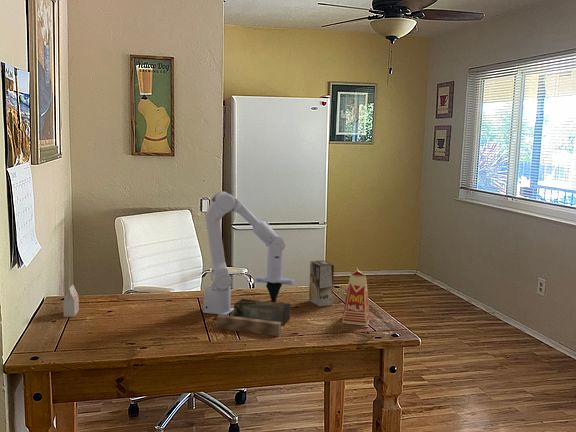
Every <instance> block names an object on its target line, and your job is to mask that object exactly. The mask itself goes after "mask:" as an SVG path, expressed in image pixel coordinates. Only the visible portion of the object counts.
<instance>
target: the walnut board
mask: <svg viewBox="0 0 576 432" xmlns="http://www.w3.org/2000/svg"><path fill="white" fill-rule="evenodd" d="M216 329H219V330H220V329H221V330H227V331H236V332H243V333H251V334H258V335H268V336H273V337H274V336H276V337H279V336H280V335H282V325H281V322H276V321H268V320H260V319H252V318H244V317H235V316H234V315H228V314H227V315H220V314H217V316H216Z"/></svg>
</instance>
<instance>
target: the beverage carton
mask: <svg viewBox="0 0 576 432" xmlns="http://www.w3.org/2000/svg"><path fill="white" fill-rule="evenodd" d="M233 308H234V310H233V316H235V317H244V318H252V319H260V320H268V321H276V322H281V326H284V325H285V324H286V323H288V322H289V321H290V320H291V303H286V302H278V301H276V302H271V301H267V300H266V301H265V300H255V299H248V298H247V299H246V298H241V299H239V300H237V301H236V302H235V303H234V304H233Z"/></svg>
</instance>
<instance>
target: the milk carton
mask: <svg viewBox="0 0 576 432" xmlns="http://www.w3.org/2000/svg"><path fill="white" fill-rule="evenodd" d="M347 283H348V284H347V288H346V292H345V293H346V294H345V300H344V308H343V315H342V321H341V324H349V325H359V326H367V327H368V326H369V322H370V308H369V307H370V305H369V293H368V283H367V275H365V274H364V273H363V272H361V270H359V267H356V271H354V272H353V273H351V274H350V275H349V280H348V282H347Z"/></svg>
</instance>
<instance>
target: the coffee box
mask: <svg viewBox="0 0 576 432" xmlns="http://www.w3.org/2000/svg"><path fill="white" fill-rule="evenodd" d="M334 274H335V264H332V263H330V262H328V261H327V260H326V261H325V260H314V261H312V260H311V261H309V291H308V292H309V297H308V298H309V299H308V301H309V302H311V303H312V304H314V305H315V306H318V307H326V306H327V307H328V306H333V302H334V300H333V299H334V276H335V275H334Z"/></svg>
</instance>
